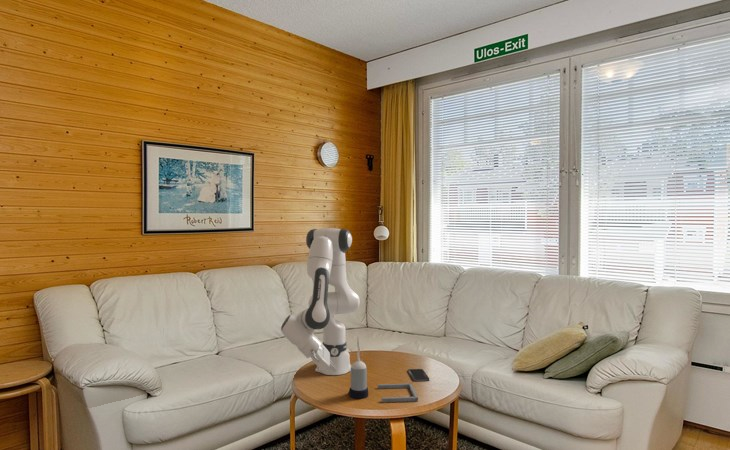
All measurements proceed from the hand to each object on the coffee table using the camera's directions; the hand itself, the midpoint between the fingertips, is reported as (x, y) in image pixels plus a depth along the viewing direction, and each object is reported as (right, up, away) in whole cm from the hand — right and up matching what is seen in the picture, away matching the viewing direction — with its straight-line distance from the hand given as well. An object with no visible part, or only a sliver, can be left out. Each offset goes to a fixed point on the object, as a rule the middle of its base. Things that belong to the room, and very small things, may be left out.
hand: (335, 370), depth 192 cm
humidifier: (+10, -11, +1) cm, 15 cm away
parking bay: (+26, -11, +3) cm, 28 cm away
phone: (+38, -11, +26) cm, 47 cm away
